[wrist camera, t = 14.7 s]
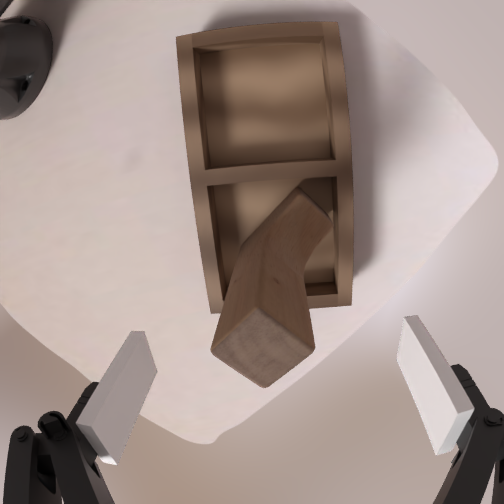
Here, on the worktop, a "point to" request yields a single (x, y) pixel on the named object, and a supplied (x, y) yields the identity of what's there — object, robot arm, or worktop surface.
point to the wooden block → (272, 293)
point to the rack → (268, 144)
